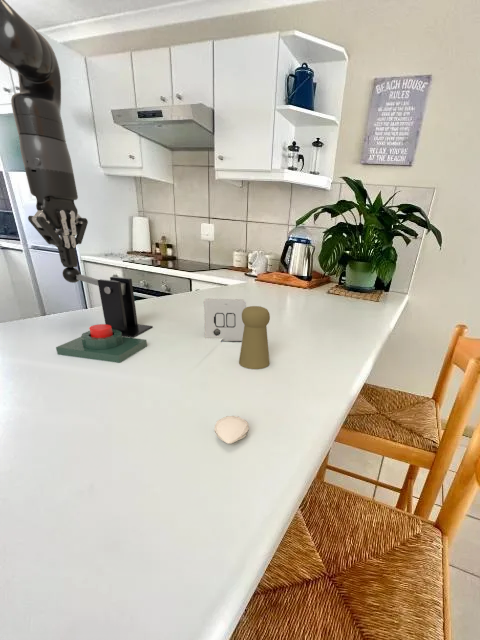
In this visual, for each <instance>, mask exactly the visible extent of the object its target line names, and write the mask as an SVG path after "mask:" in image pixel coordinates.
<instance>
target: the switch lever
mask: <svg viewBox="0 0 480 640" xmlns="http://www.w3.org/2000/svg"><path fill="white" fill-rule="evenodd" d="M62 278H63V279H64V280H65V281H67V282H68V283H73V284H75V283H78V282H80V281H81V282H84V283H87V284H91V285H94V286H97V287H99V286H98V280H99V279H97V278H94V277H91V276H88V275H84V274H81V272H80V271H79V270H78V268H77V267H72V268H69V267H64V269H63V270H62ZM111 281H115V280H111ZM120 283H121V290H122V295H125V293H126V283H122V282H120Z"/></svg>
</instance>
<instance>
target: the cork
mask: <svg viewBox="0 0 480 640" xmlns="http://www.w3.org/2000/svg"><path fill="white" fill-rule="evenodd" d="M270 319H271V314H270V311H269V310H268V309H267V308H266V307H264V306H259V305H249V306H246V308H245V309H244V310H243V311H242V321H243V323H244V332H243V338H242V341H241V346H240V352H239V359H238V364H239V365H240V367H242V368H245V369H250V370H262V369H266V368H268V367H269V366H270V354H269V353H270V352H269V342H268V341H269V340H268V330H267V329H268V328H267V327H268V326H267V325H269V323H270Z"/></svg>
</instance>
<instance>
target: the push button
mask: <svg viewBox="0 0 480 640" xmlns="http://www.w3.org/2000/svg"><path fill="white" fill-rule="evenodd" d="M88 329H89V331H90V334H91V337H94V338H105V337H110V336H112V335H113V332H112V327H111V326H110V325H106V324H105V323H101V324H93V325H91V326H89V328H88Z"/></svg>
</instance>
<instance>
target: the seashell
mask: <svg viewBox="0 0 480 640" xmlns="http://www.w3.org/2000/svg"><path fill="white" fill-rule="evenodd" d="M213 430H214V433H215V434H216V436H217V438H218V439H219V440H221V441H223V442H224V443H225V444H227V445H231V444H233V443H236V442H238V441H239V440H242V439H244V438H245V437H246V435H247V434H248V432H249V423H248V422H247V421H246V420H245V419H243V418H242V417H240V416H236V415H230V416H229V415H227V416H224V417H222V418H219V419H218V420H216V422H215V424H214V429H213Z"/></svg>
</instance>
